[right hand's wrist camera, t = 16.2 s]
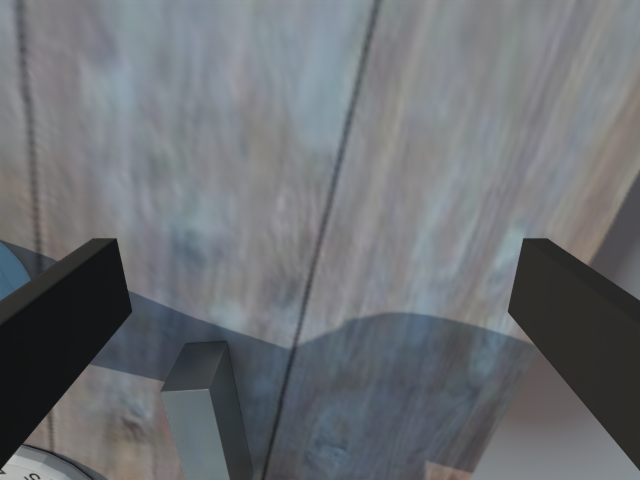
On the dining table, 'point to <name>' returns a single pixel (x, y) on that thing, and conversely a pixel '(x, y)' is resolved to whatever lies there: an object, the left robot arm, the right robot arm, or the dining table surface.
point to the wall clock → (39, 467)
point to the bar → (206, 414)
